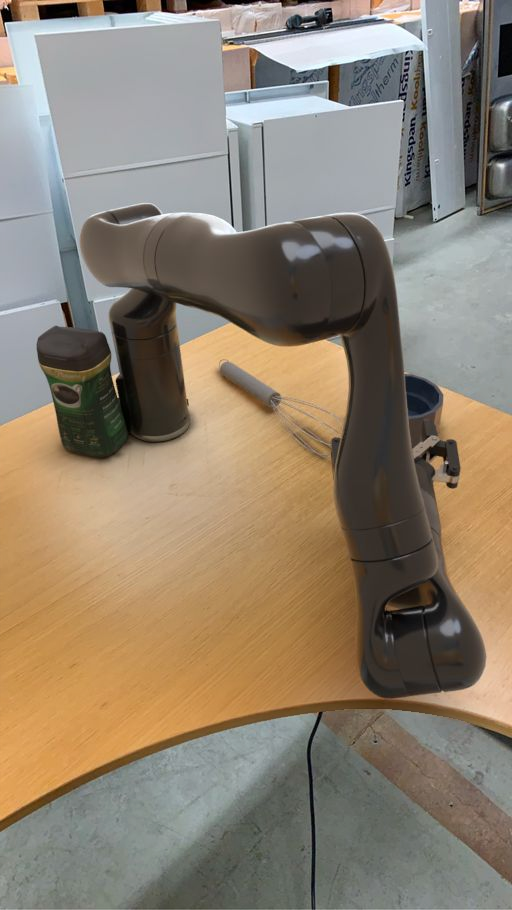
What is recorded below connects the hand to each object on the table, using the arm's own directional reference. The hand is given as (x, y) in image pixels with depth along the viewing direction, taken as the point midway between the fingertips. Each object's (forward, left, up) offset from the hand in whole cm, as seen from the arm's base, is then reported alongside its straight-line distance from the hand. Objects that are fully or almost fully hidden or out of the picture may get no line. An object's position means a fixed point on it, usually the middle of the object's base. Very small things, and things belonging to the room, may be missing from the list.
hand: (389, 424), depth 80 cm
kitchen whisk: (-18, +16, -12) cm, 27 cm away
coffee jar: (-43, +4, -12) cm, 45 cm away
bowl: (+1, +16, -12) cm, 20 cm away
